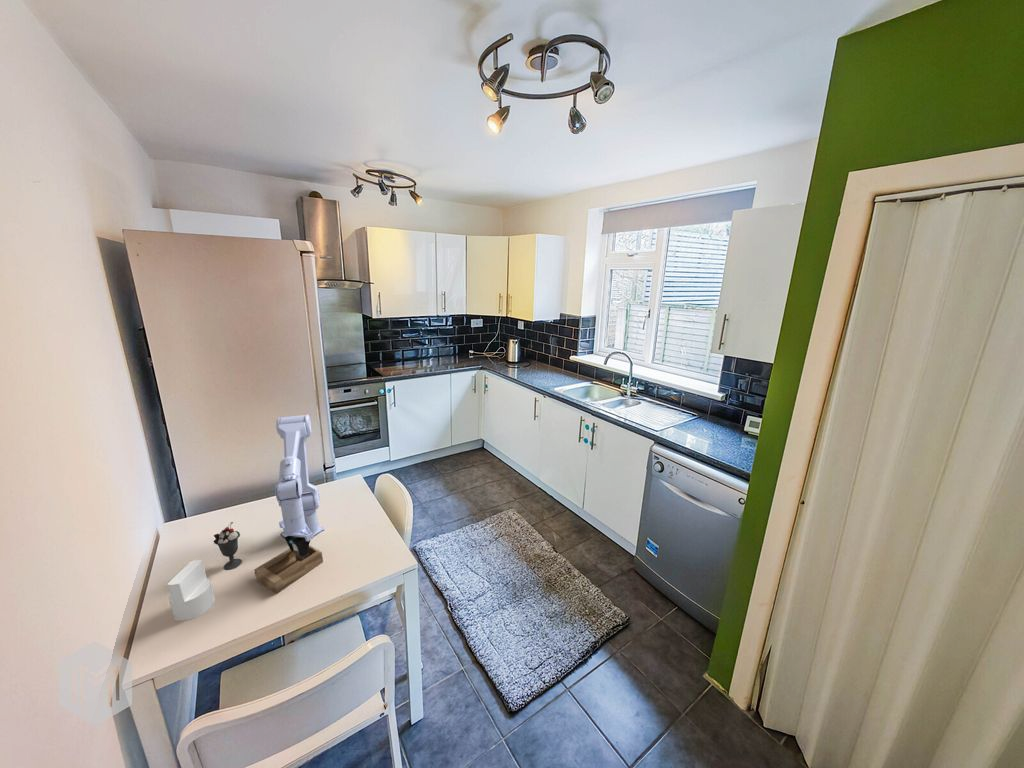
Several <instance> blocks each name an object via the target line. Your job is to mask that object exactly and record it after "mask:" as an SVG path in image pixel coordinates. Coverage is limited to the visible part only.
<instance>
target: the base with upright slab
mask: <svg viewBox="0 0 1024 768" xmlns="http://www.w3.org/2000/svg"><path fill="white" fill-rule="evenodd" d="M167 588H168V592H169V595H168V601H169V604H170V605H169V606H170V609H171V612H172V614H173V618H174V619H175V621H179V622H186V621H190V620H193V619H195V618H197V617H200V616H202V615H203V614H204V613H206V612H207V611H209V610H210V609H211V608H212V607H213V606H214V604H215V601H216V600H215V599H216V598H215V594H214V590H213V585H212V582H211V579H209V578H208V577H207V574H206V570H205V566H204V562H203V560H201V559H199V560H198V559H196V560H195V559H194V560H191V561H190V562H188V563H187V564H186V565H185V566H184V568H182V569H181V570H180V571H179V572H178V573H177V574H176V575H174V577H173V578H172V579H171V580H170V581H169V582H168V583H167Z"/></svg>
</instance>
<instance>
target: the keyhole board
mask: <svg viewBox="0 0 1024 768" xmlns="http://www.w3.org/2000/svg"><path fill="white" fill-rule="evenodd" d="M322 563H324V557H323V552H322V551H320V550H319V549H317V548H315V547H313V546H311V545H309V548H308V557H307V558H306V559H304V560H303V561H301V562H300V561H298V562H297V561H296V558H295V554H294V551H293V552H292V551H291V550H290V548H288V549H285V550H284V551H282V552H281V553H279V554H277V555H276V556H274V557H273V558H271V559H269V560H268V561H266V562H264V563H263V564H261V565H258V567H256V568H255V569H253V571H254V575H255V579H256V581H257V582H259V583H260V584H261V585H263V586H264V587H266V588H268V589H269V590H271V591H272V592H274V594H279V593H281V592H282V591H284V590H285V589H286V588H288V587H289V586H291V585H292V584H293V583H295V582H296V581H298V580H299V579H301V578H302V577H304V576H305V575H306V574H309V572H311V571H312V570H314V569H315V568H317V567H318V566H319V565H321V564H322Z"/></svg>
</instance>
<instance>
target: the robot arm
mask: <svg viewBox="0 0 1024 768" xmlns="http://www.w3.org/2000/svg"><path fill="white" fill-rule="evenodd" d="M275 422H276V424H275V427H276V432H277V434H278V435H279V436H280V439H282V440H283V448H284V451H283V452H284V453H283V454H284V455H283V456H284V458H283V459H282V460H281V461H280V462H279V474H278V483H276V485H275V489H274V490H275V491H274V492H275V497H276V501H277V503H278V507H280V511H281V515H282V520H281V521H279V522H278V523H279V524H278V525H279V528H281V529H282V530H283V531H282V532H280V534H279V536H280V537H282V538H283V539H284V540H285V542H286V544H287V546H288V547H289V548H290V550H291V551H292V552H293V551H294V550H293V546H292V544H290V542H289V539H290V538H291V537H292V536H297V537H298V538H296V539H294V540H292V542H293V543H294V544H295V545H296V546H297V548H298V551H299V554H300V556H301V557H303V556H304V555H306V554H307V553H308V548H309V546H310V544H311V543H310V542H311V540H313V539H314V536H316V535H318V534H319V533H321V532H323V531H325V527H324V526H322V525H319V518H318V511H317V510H318V509H319V507H320V504H321V501H320V500H321V499H320V493H319V488H318V487H317V486H316V485H314V484H312V483H310V481H309V480H310V479H309V470H308V456H307V444H306V443H307V439H308V438H309V437H312V431H313V430H312V421H311V416H310V415H309V414H308V413H307V414H304V415H291V416H283V417H281V416H279V417H278V418H277V419H276V421H275ZM289 548H288V549H289Z"/></svg>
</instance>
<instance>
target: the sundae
mask: <svg viewBox="0 0 1024 768" xmlns="http://www.w3.org/2000/svg"><path fill="white" fill-rule="evenodd" d="M233 523H234V522H233V521H231V522H230V523H229V525H228V526H226V527H225V528H224V529H223V530H221V531H220V532H219V533H216V534H213V537H214V538H215V539H214V540H213V544H214V545H217V546H218V548H219V551H220V553H221V554H222V556H223V557H226V558H227V557H228V558H229V561H227V562H226V563H225V564H224V565H223V570H227V571H230V570H233V569H237V568H238V567H240V566H241V565H242V563H243V559H241V558H235V557H234V556H235V554H236V553H237V552H238V550H239V549H238V548H239V544H238V543H239V542H238V540H239V539H238V538H240V536H241V534H240V531H238V530H235V529H234V528H232V524H233Z"/></svg>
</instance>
